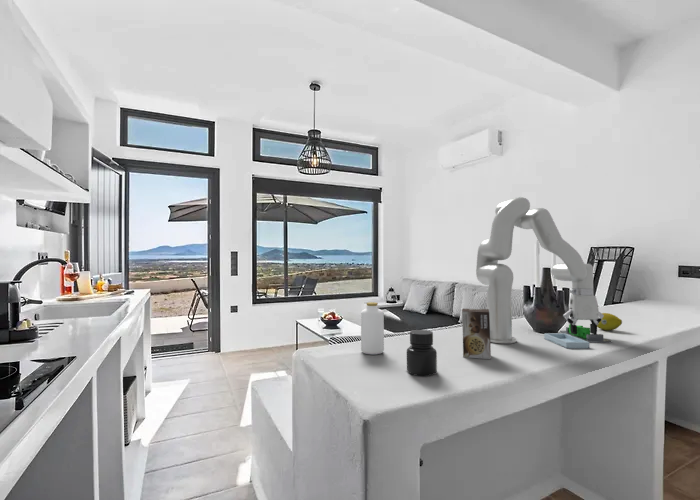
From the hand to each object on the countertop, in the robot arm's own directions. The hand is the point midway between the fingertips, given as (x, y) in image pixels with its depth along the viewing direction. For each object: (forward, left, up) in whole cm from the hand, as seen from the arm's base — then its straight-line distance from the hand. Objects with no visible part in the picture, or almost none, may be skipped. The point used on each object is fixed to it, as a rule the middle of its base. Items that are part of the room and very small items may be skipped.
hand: (583, 333), depth 150 cm
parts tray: (-14, -11, -1) cm, 18 cm away
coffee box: (-55, -29, -2) cm, 62 cm away
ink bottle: (-77, -46, -2) cm, 90 cm away
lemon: (+19, +13, -2) cm, 23 cm away
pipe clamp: (-1, 0, -2) cm, 2 cm away
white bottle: (-91, -24, -2) cm, 94 cm away
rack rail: (0, 0, -1) cm, 1 cm away
